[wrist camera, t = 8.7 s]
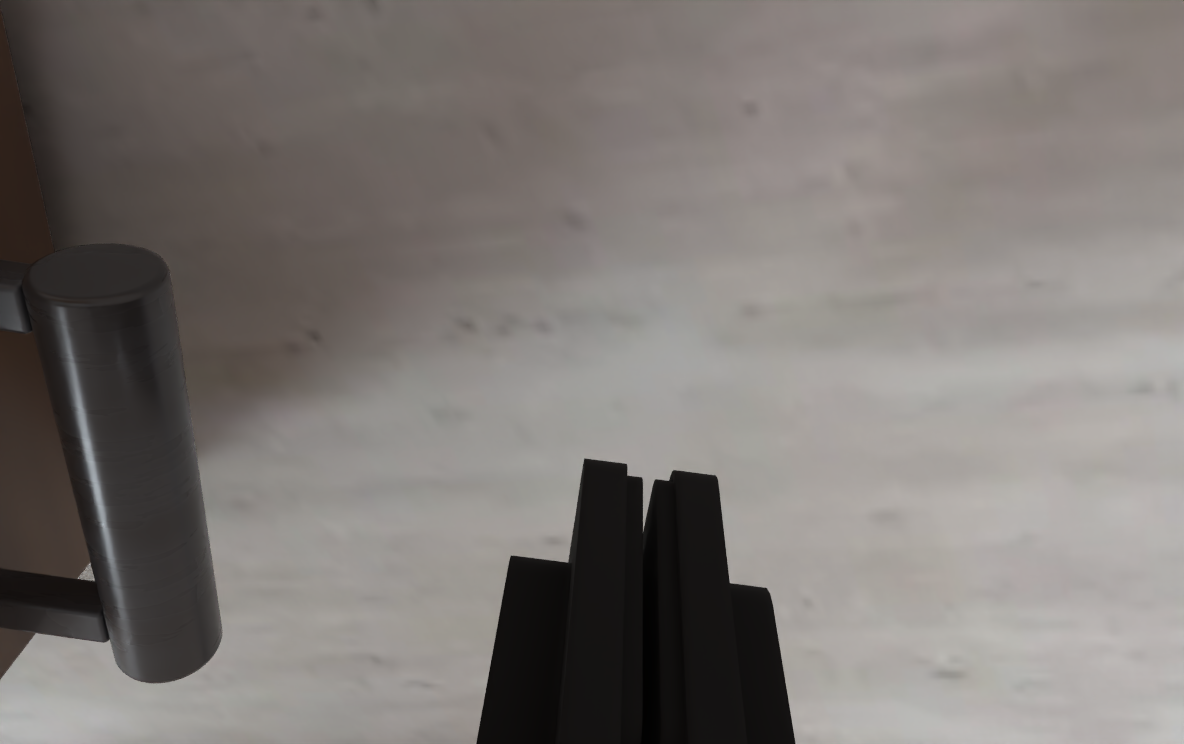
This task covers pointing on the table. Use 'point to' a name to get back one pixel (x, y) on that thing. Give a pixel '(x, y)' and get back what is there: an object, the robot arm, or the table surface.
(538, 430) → the table surface
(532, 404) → the table surface
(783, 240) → the table surface
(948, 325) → the table surface
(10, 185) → the drawer
